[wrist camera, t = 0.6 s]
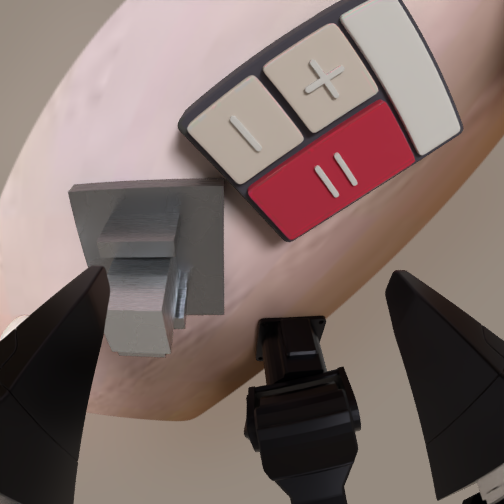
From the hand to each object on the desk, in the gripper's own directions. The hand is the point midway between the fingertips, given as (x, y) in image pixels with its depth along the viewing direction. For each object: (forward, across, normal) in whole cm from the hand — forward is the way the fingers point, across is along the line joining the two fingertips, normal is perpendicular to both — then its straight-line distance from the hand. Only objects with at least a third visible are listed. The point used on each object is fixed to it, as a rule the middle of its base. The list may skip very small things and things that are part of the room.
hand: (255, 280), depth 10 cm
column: (+12, +6, +9) cm, 16 cm away
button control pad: (+14, -5, -3) cm, 15 cm away
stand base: (+14, +6, +9) cm, 17 cm away
